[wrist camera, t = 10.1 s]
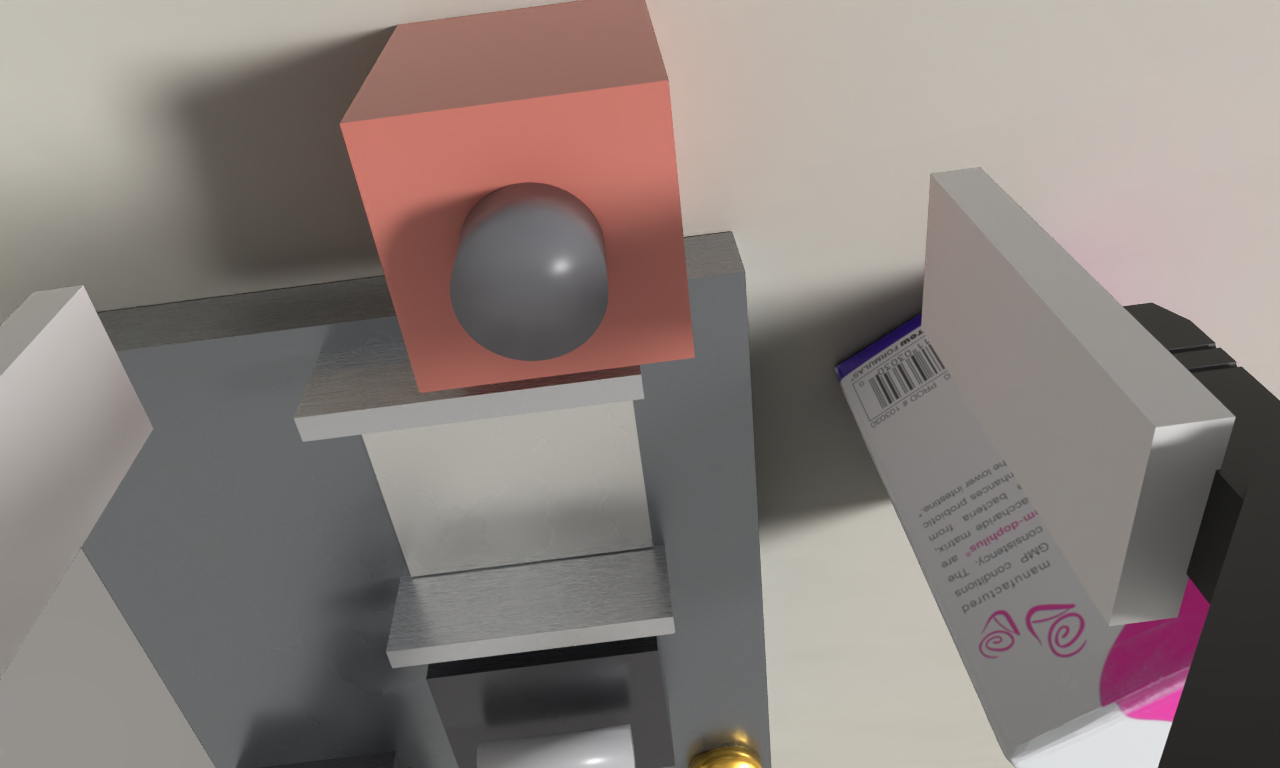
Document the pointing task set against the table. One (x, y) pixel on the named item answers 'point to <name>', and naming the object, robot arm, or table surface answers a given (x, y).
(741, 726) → the metal switch board
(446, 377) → the cap
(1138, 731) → the supplement box
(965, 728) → the table surface
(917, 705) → the table surface
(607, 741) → the switch lever
